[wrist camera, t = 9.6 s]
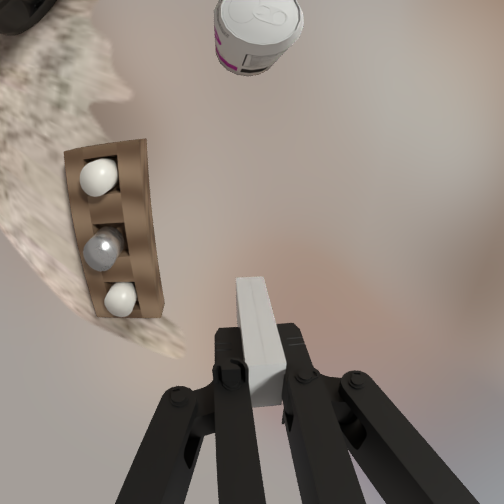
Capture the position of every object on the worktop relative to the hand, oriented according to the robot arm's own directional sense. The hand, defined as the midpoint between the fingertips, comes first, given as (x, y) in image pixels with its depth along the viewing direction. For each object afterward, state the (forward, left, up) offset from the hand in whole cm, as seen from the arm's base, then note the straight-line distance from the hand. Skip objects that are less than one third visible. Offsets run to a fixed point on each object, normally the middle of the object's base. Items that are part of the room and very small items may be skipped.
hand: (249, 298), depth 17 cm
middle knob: (+5, -17, -22) cm, 28 cm away
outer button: (+14, -17, -25) cm, 33 cm away
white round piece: (-4, -17, -25) cm, 30 cm away
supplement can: (-20, +2, -27) cm, 33 cm away
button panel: (+5, -17, -26) cm, 32 cm away
